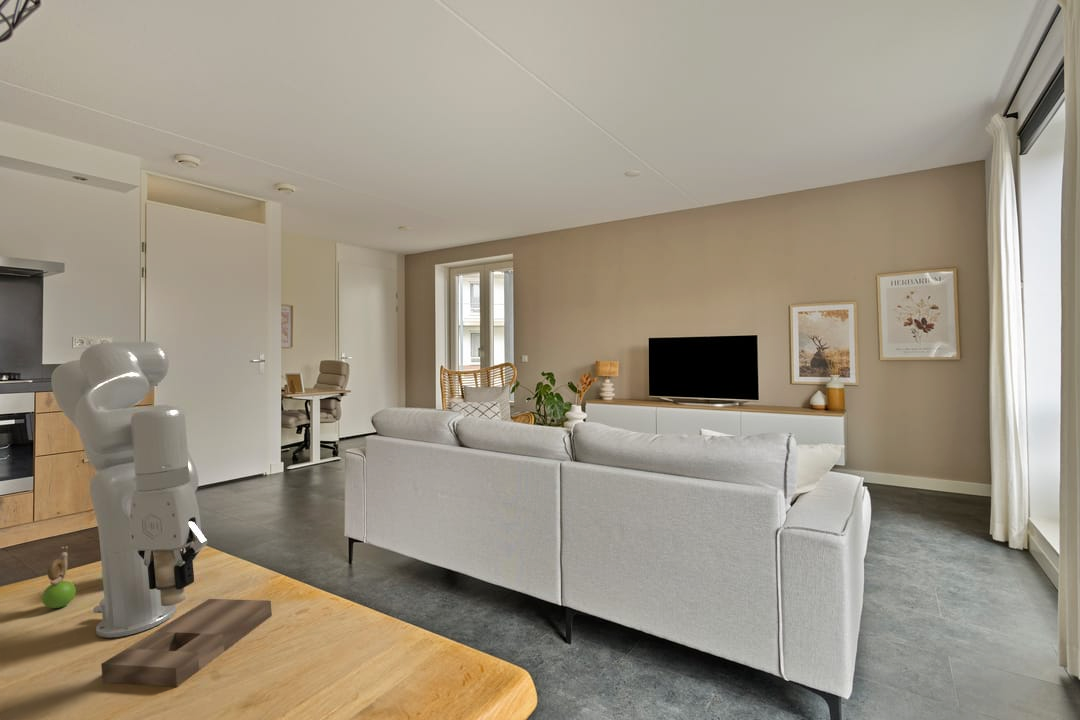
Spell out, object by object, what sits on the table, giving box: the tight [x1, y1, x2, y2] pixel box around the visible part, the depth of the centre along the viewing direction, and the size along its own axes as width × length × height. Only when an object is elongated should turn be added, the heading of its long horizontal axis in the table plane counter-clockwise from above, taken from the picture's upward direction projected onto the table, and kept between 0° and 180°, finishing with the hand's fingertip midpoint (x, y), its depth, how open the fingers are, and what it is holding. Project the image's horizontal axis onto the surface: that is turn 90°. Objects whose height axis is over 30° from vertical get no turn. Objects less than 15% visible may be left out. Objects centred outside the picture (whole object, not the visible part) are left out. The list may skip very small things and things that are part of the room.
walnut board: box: [100, 598, 273, 688], centre depth 95 cm, size 14×22×3 cm, turn 170°
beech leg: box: [153, 548, 186, 606], centre depth 90 cm, size 4×4×10 cm
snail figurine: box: [41, 546, 77, 609], centre depth 115 cm, size 5×6×12 cm
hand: (172, 584), depth 90 cm, fingers closed on beech leg, 4 cm apart
